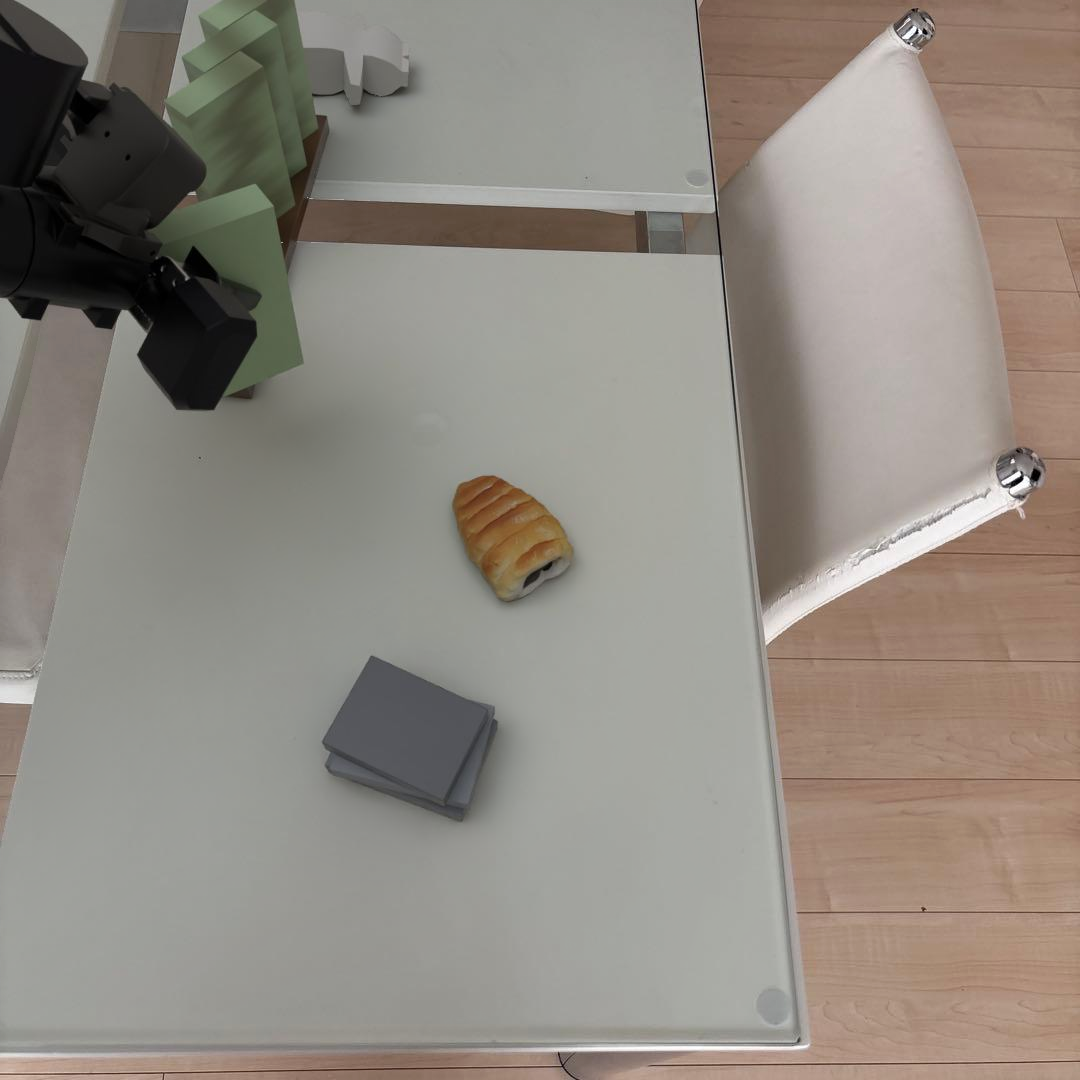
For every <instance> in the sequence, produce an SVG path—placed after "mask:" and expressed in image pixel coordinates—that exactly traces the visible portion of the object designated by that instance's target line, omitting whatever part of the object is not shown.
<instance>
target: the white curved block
mask: <svg viewBox="0 0 1080 1080" xmlns="http://www.w3.org/2000/svg"><path fill="white" fill-rule="evenodd" d="M297 17H298V22H299V27H300V33H301V38H302V43H303V49H304V54H305V59H306V65H307V70H308V76H309V81H310V86H311V92H312V95H321V96H324V95H335V94H337V93H339V92H342V91H343V92H344V93H345V95H346V97H347V100H348V102H349V105H350V106H357V105H361V101H362V97H363V93H364V91H366V92H368V93H369V94H370V93H371V95H372V94H375V95H374V96H376V95H381V96H382V97H386V96H389V95H391V94H393V93H394V92H395V91H397V90H398V89H399V88H401V87H404V88H409V87H408V86H409V71H410V70H409V69H410V67H409V65H410V42H404V41H402V40H401V38H399V36H398V35H396V33H395V32H393V31H392V30H390V29H389V28H387V27H385V26H381V25H372V26H370V27H368V28H366V19H365V15H364V14H361V13H358V12H355V13H353V15H352V16H351V17H350V18H349V19H348V20H347V21H346V22H345V21H342V19H340V18H338V17H336V16H335V15H331V14H328V13H325V12H319V11H312V10H311V11H309V10H308V11H299V12H298V13H297ZM381 96H380V97H381Z"/></svg>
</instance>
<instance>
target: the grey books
mask: <svg viewBox="0 0 1080 1080" xmlns="http://www.w3.org/2000/svg"><path fill="white" fill-rule="evenodd" d="M495 713H496V706H495V705H492V704H488V703H484V702H480V701H477V700H476V701H475V700H472V699H467V698H465V697H463V696H462V695H461V696H460V695H459V694H456V693H454V692H453V691H450V690H448V689H447V688H444V687H442V686H440V685H437V684H434V683H432V682H430V681H428V680H426V679H425V678H422V677H420V676H418V675H416V674H414V673H411V672H410V671H407V670H405V669H403V668H400V667H399V666H396V665H394V664H392V663H390V662H387V661H386V660H384V659H381V658H379V657H377V656H375V655H370V656H369V658H368V660H367V661H366V663H365V665H364V667H363V669H362V670H361V672H360V674H359V676H358V677H357V679H356V681H355V683H354V684H353V686H352V688H351V690H350V692H349V693H348V695H347V697H346V698H345V700H344V702H343V704H342V705H341V707H340V709H339V711H338V712H337V714H336V716H335V718H334V720H333V722H331V725H330V726H329V727H328V730H327V732H326V733H325V735H324V737H323V739H322V740H321V744H322V745H323V747H324V749H325V750H326V751H328V752H329V754H328V757H327V759H326V760H325V761H326V762H325V763H324V767H325V769H326V770H327V772H328V773H330V774H332V775H333V776H335V777H338V778H342V779H345V780H349V781H350V782H354V783H356V784H359V785H361V786H363V787H366V788H369V789H371V790H374V791H377V792H380V793H382V794H385V795H388V796H391V797H393V798H396V799H399V800H401V801H404V802H406V803H409V804H412V805H414V806H417V807H420V808H422V809H425V810H427V811H429V812H433V813H436V814H438V815H441V816H443V817H445V818H448V819H452V820H454V821H457V822H459V823H461V822H462V821H463V820H464V817H465V814H466V811H468V810H470V807H471V803H472V800H473V796H474V792H475V789H476V785H477V782H478V779H479V777H480V774H481V772H482V769H483V767H484V764H485V761H486V759H487V757H488V754H489V752H490V749H491V746H492V743H493V741H494V739H495V735H496V733H497V730H498V720H497V719H494V718H495V715H496V714H495Z"/></svg>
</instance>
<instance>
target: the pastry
mask: <svg viewBox="0 0 1080 1080" xmlns="http://www.w3.org/2000/svg"><path fill="white" fill-rule="evenodd" d="M451 506H452V511H453V513H454V516H455V520H456V523H457V524H456V525H457V531H458V533H459V536H460V539H462V542H463V545H464V548H465V554H466V556H467V558H468V560H470V561H471V562H473V563H474V564H475V565H476V566H477V568H478V569H479V570H480V572H481V575H482V576H483V578H484V580H485V581H486V582H487V584H488V585H489V586H490V587H491V589H492V590H493V591H494V593H495V596H496V597H497V598H498V599H500V600H501V601H505V602H510V601H514V600H518V599H520V598H523V597H525V596H527V595H529V594H530V593H532V592H533V591H534V590H535V589H537V588H538V587H539V586H540V585H542V583H544V581H546V580H548V579H553V578H555V577H558V576H559V575H561V574H562V573H563V572H565V571H566V570H567V569H568V567H569V566H570V564H571V563H572V561H573V558H574V557H573V556H574V547H573V546H572V544H571V543H570V542H569V537H568V534H567V533H566V531H565V529H564V527H563V526H562V524H561V523H560V521H559V520H558V519H557V517H555V516H554V515H553V514H552V513H551V512H550V511H549V509H547V507H546V506H545V505H544V504H543V503H541V502H539V501H538V500H537V498H535V497H534V496H533V495H531V494H529V493H527V492H526V491H524V490H523V489H522V488H519V487H516V486H514V485H513V484H511V483H509V482H508V481H507V480H505V479H503V478H502V477H498V476H496V475H493V474H491V475H481V476H478V477H475V478H473V479H470V480H468V481H463V482H461V483H460V484H459V483H458V485H457V488H456V489H455V494H454V496H453V499H452V504H451Z"/></svg>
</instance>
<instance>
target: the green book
mask: <svg viewBox="0 0 1080 1080" xmlns="http://www.w3.org/2000/svg"><path fill="white" fill-rule="evenodd" d="M146 231H147V232H151V233H154V234H155V235H156V236H157V237H158V238H159V239H160V241H161V242H162V243H163V245H162V246H161V248H160V250H159V252H158V254H157V257H158V258H160V257H161V256H168V257H172V258H173V259H174V260H175V261H178V262H182V263H184V261H185V259H186V257H187V255H188V254H189V252H190V250H191V248H192V246H195V247H196V248H197V249H198V251H199V252H200V253H201V254H202V255H203V256H204V257H205V258H206V260H207V261H208V262H209V263H210V264H211V265H212V266H213V268H214V269H215V270H216V271H217V272H218V274H219V275H220V277H223V278H226V279H229V280H232V281H234V282H237V283H240V284H243V285H245V286H247V287H250V288H252V289H254V290H256V291H258V292H259V293H260V294H261V295H262V298H261V300H260V301H259V303H258V305H257V306H256V308H255V309H253V310H251V311H249V313H250V314H251V316H252V317H253V318H254V319H255V320H256V322H257V338H256V340H255V341H254V343H253V345H252V346H251V348H250V350H249V352H248V353H247V355H246V357H245V358H244V360H243V362H242V364H241V365H240V367H239V369H238V370H237V372H236V374H235V376H234V377H233V379H232V381H231V382H230V384H229V386H228V387H227V389H226V391H225V393H224V394H223V396H222V398H221V399H224V398H225V397H228V396H227V395H230V394H232V393H235V392H237V391H239V390H242V389H244V388H247V387H249V386H251V385H254V384H255V385H256V384H258V383H261V382H263V381H265V380H268V379H270V378H272V377H275V376H277V375H280V374H282V373H284V372H287V371H291V370H292V369H294V368H297V367H299V366H302V365H304V364H305V361H304V356H303V351H302V346H301V340H300V335H299V331H298V325H297V319H296V314H295V310H294V305H293V298H292V294H291V288H290V283H289V277H288V273H287V272H286V267H285V262H284V257H283V252H282V246H281V241H280V236H279V231H278V226H277V220H276V215H275V210H274V206H273V205H272V203H271V202H270V201H269V200H268V198H267V197H266V196H265V195H264V193H263V192H262V191H261V190H260V189H259V187H258V186H257V185H256V184H253V185H250V186H247V187H244V188H241V189H238V190H235V191H232V192H229V193H226V194H223V195H220V196H217V197H214V198H211V199H208V200H205V201H202V202H199V201H198V202H196V203H193V204H191V205H188V206H184V207H181V208H179V209H176V210H175V209H174V210H173V211H172V212H171V213H170V214H169V215H168V216H167V217H166V218H165V219H164V220H163V221H162V222H161V223H160V224H159V225H158V226H156V227H155V228H153V229H149V230H146Z"/></svg>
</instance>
